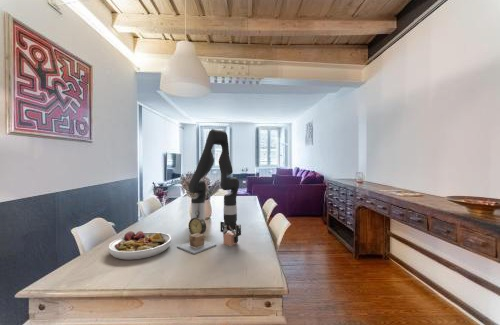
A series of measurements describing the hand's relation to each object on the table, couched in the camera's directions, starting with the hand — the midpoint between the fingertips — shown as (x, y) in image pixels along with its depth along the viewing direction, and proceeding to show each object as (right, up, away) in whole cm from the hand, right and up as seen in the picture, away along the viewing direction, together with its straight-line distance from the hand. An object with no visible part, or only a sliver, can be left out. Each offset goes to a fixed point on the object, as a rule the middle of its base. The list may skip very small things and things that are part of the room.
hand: (230, 241), depth 136 cm
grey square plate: (-18, -1, -5) cm, 19 cm away
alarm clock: (-21, -1, +12) cm, 24 cm away
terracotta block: (0, -1, 0) cm, 1 cm away
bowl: (-47, -2, -8) cm, 48 cm away
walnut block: (-18, 0, -5) cm, 19 cm away
